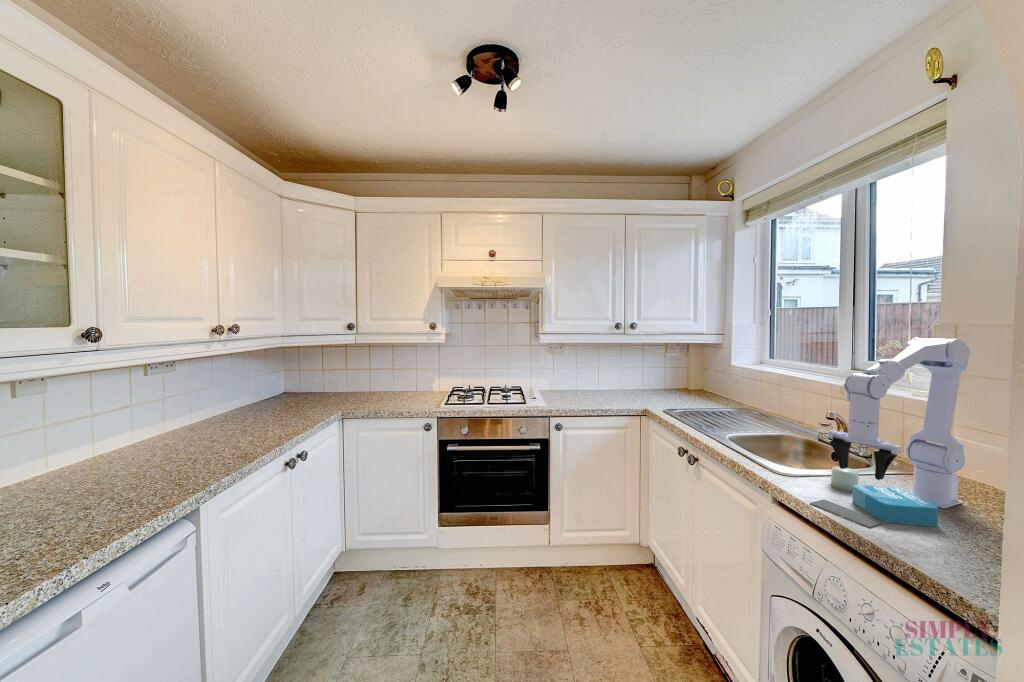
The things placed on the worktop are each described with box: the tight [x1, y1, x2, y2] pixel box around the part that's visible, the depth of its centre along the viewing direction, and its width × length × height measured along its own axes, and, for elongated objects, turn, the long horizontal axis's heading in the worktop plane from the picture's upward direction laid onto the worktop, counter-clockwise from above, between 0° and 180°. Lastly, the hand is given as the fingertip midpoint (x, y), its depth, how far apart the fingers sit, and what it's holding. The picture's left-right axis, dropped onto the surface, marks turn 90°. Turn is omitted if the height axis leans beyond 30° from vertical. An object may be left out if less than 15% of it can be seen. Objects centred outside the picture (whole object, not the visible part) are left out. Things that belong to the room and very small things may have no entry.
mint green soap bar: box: [830, 465, 860, 492], centre depth 114 cm, size 6×6×5 cm
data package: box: [851, 484, 940, 528], centre depth 98 cm, size 12×4×12 cm
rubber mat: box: [809, 498, 885, 529], centre depth 98 cm, size 6×13×1 cm, turn 22°
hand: (860, 473), depth 100 cm, fingers open, 7 cm apart
